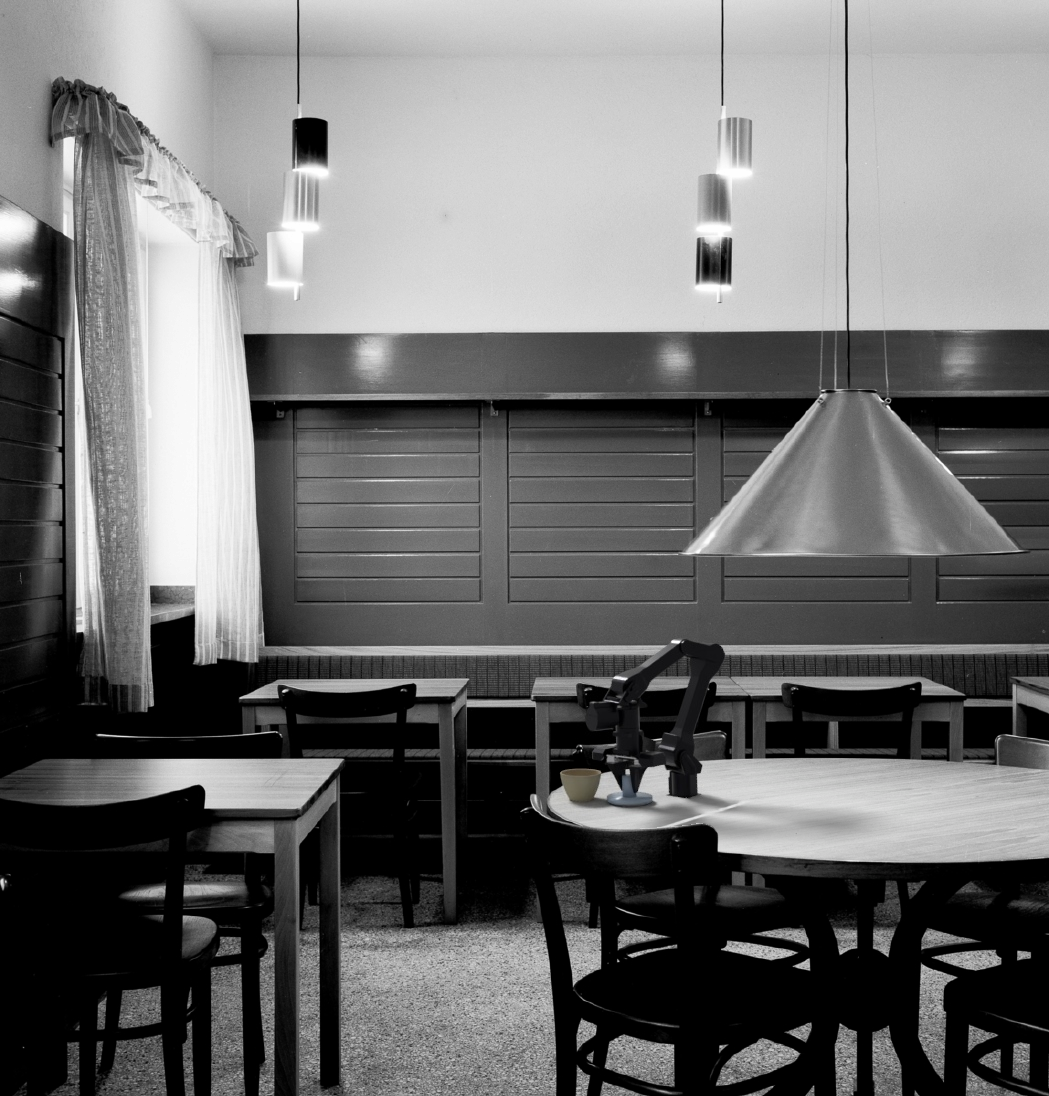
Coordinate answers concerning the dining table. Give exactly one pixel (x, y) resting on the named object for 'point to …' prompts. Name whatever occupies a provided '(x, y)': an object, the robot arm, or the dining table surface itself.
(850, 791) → the dining table surface
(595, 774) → the flower pot
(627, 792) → the lid
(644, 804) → the disc
